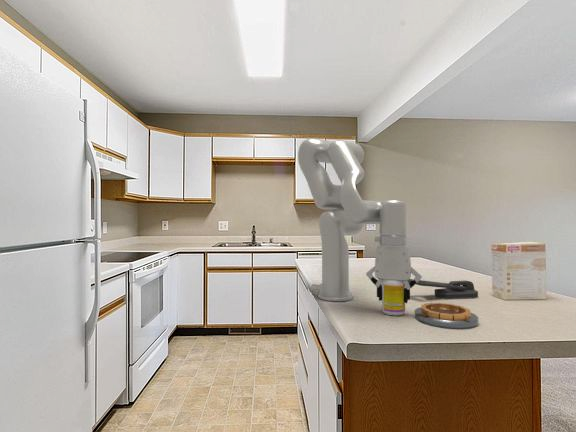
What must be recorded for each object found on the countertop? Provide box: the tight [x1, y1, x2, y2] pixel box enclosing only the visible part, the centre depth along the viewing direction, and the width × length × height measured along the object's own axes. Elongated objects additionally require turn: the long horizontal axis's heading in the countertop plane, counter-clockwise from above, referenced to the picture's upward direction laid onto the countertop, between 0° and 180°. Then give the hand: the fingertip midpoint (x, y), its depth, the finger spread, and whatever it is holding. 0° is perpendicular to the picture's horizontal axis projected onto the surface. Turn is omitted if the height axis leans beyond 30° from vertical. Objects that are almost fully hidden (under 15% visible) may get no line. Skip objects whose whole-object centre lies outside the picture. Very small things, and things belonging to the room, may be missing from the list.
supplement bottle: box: [381, 280, 406, 316], centre depth 97 cm, size 7×7×13 cm
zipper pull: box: [409, 278, 479, 300], centre depth 117 cm, size 9×7×25 cm
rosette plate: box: [414, 302, 479, 330], centre depth 91 cm, size 16×16×3 cm
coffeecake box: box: [491, 241, 547, 301], centre depth 115 cm, size 15×7×20 cm, turn 91°
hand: (393, 300), depth 97 cm, fingers closed on supplement bottle, 6 cm apart
